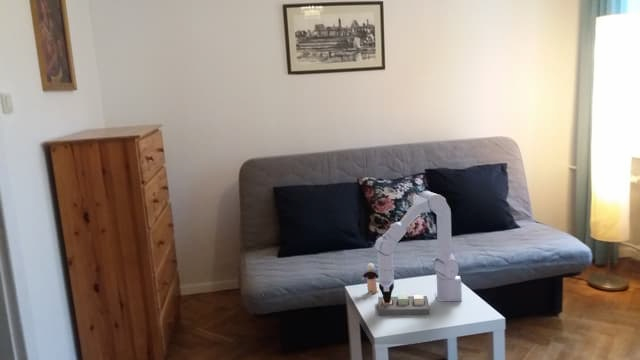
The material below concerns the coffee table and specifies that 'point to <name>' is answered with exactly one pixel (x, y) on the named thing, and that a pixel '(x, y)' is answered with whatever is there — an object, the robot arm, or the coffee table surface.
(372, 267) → the grandmother figurine
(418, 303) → the ivory key
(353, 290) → the coffee table surface
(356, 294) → the coffee table surface
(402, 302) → the sage key
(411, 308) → the grey slotted board
